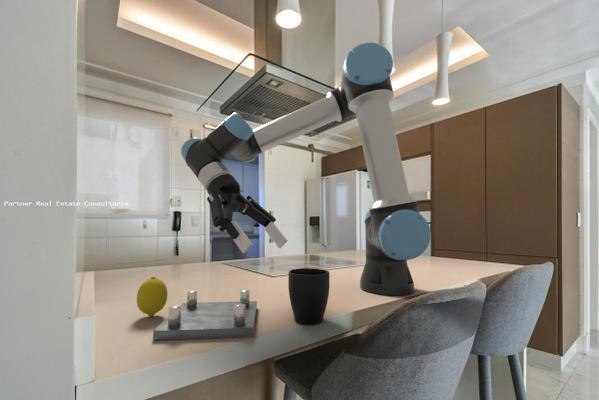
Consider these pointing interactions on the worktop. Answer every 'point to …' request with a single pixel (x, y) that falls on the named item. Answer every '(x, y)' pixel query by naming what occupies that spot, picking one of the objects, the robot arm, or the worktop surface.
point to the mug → (308, 294)
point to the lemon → (152, 296)
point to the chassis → (208, 319)
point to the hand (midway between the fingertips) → (267, 246)
